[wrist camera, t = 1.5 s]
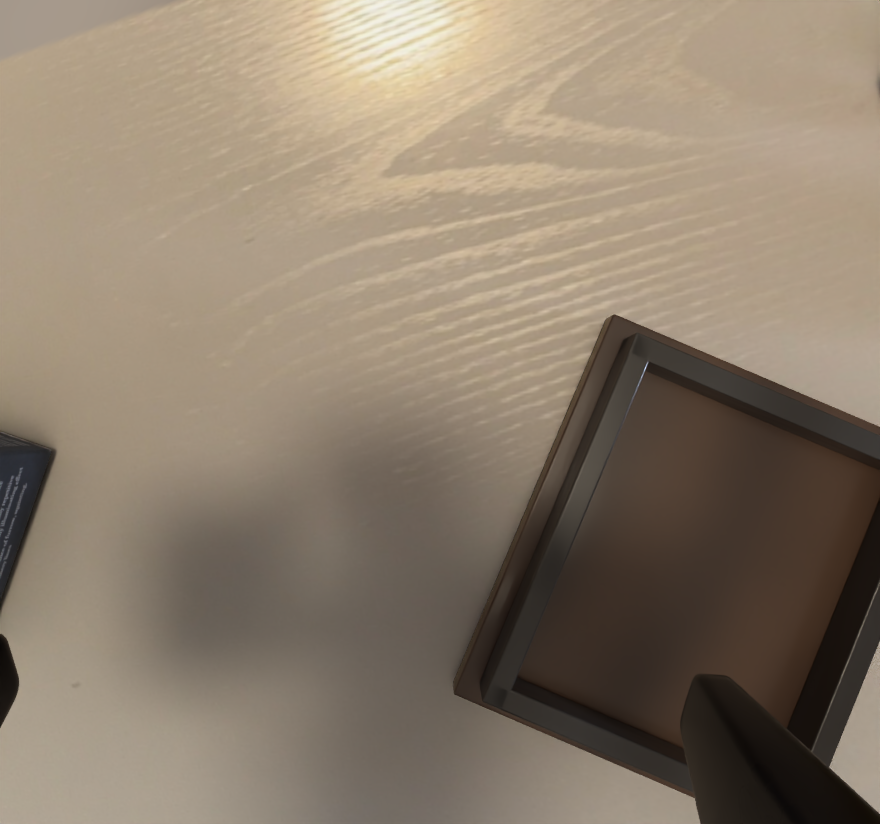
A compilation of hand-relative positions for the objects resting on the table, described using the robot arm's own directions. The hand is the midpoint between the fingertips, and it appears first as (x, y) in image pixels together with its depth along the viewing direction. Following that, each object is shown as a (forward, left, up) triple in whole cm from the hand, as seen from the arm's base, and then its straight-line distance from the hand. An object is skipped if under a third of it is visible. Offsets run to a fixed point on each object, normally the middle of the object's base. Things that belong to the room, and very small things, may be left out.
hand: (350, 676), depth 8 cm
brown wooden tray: (+9, -7, -16) cm, 19 cm away
